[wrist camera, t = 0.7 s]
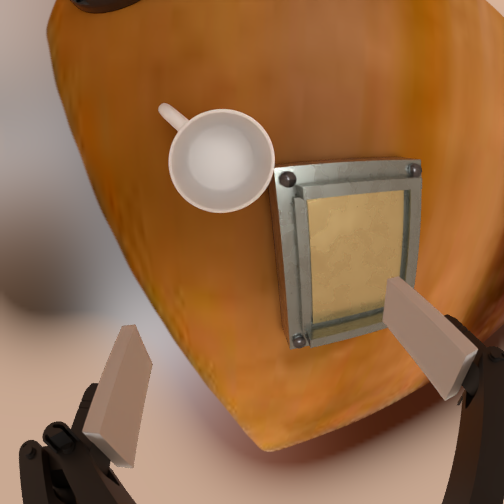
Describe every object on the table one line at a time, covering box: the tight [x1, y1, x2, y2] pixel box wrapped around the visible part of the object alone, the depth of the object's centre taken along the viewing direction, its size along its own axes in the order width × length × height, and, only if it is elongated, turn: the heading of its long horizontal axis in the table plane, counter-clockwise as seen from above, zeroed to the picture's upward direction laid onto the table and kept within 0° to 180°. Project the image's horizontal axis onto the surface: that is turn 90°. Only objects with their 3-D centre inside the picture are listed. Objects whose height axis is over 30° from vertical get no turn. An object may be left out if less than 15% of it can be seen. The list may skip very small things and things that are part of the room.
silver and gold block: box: [268, 157, 422, 349], centre depth 32 cm, size 22×18×8 cm
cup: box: [158, 103, 275, 213], centre depth 25 cm, size 8×12×10 cm
